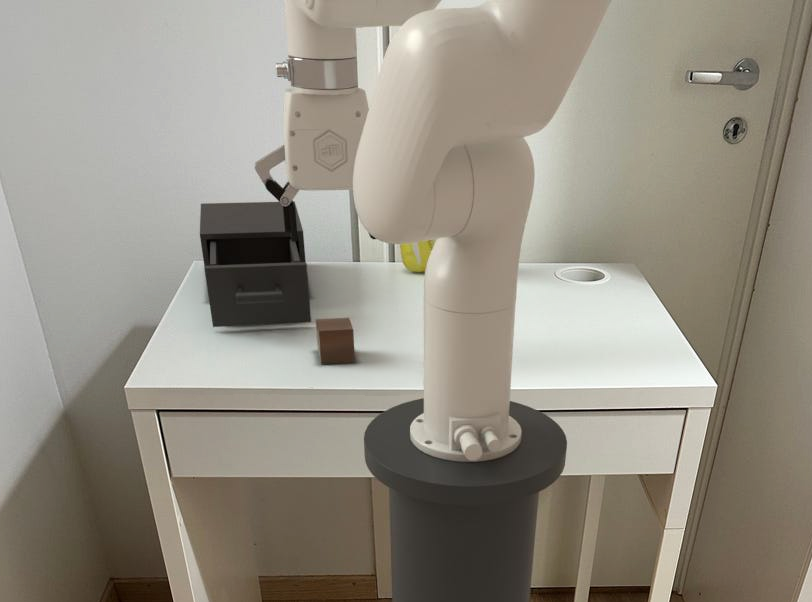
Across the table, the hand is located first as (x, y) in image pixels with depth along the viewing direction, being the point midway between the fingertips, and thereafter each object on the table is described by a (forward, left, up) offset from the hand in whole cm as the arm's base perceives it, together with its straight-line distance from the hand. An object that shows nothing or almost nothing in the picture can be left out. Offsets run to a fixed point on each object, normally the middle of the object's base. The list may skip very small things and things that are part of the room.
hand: (333, 237), depth 112 cm
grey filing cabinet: (+31, +10, -14) cm, 36 cm away
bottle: (+33, -19, -15) cm, 41 cm away
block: (-2, +1, -14) cm, 15 cm away
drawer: (+16, +10, -14) cm, 23 cm away
